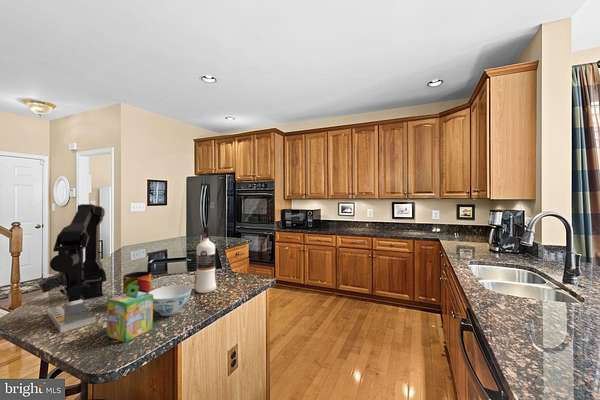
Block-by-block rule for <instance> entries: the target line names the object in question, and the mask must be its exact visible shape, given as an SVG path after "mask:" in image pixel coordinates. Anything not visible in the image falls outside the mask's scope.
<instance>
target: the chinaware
mask: <svg viewBox="0 0 600 400" xmlns="http://www.w3.org/2000/svg"><path fill="white" fill-rule="evenodd" d="M191 293H192V288H191V287H190V286H189V285H181V284H178V285H177V284H176V285H175V284H174V285H169V286H168V285H167V286H162V287H158V288H155V289H153V290H152V289H151V291H150V292H149V294H153V311H155V312H157V313H159V315H160V316H164V317H168V316H172V315H173V316H174V315H175V314H178V313H179V312H180V310H181V309H182V308H183V307H184V306H185V305H186V304H187V302H188V301H189V299H190V296H191Z"/></svg>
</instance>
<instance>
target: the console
mask: <svg viewBox="0 0 600 400" xmlns="http://www.w3.org/2000/svg"><path fill="white" fill-rule="evenodd" d="M65 305H66V304H63V305H59V306H54V307H50V308H47V315H48V316H49V318H50V319H51V321H52V323H53V324H54V326H55V327H56V329H58V331H59V333H64V332H67V331H70V330H74V329H77V328H81V327H84V326H87V325H91V324H94V323H96V322H97V316H96V315H95V314H94V313H93V312H92V311H90V309H88V308H87V307H86V306H85V311H81V312H78V313H74V314H70V315H68V319H66V318H65V317H64V307H65Z"/></svg>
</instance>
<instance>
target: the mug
mask: <svg viewBox="0 0 600 400" xmlns="http://www.w3.org/2000/svg"><path fill="white" fill-rule="evenodd" d="M129 285H136V286H139V290H138V291H140V292H145V293H149V292H150V291H152V272H150V271H135V272H130V273H127V274H124V275H123V278H122V289H123V290H122V295H124V294H127V291H128V287H129ZM134 291H135V289H131V292H134Z"/></svg>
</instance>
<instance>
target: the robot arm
mask: <svg viewBox="0 0 600 400" xmlns="http://www.w3.org/2000/svg"><path fill="white" fill-rule="evenodd" d="M105 215H106V212H105V208H104V207H102V206H99V205H94V204H92V203H89V204H88V203H87V204H86V203H85V204H84V203H81V204H78V206H77V211H76V213H75V215H74V217H73V219H72V221H71V223H70V224H68V225H66V226H65V227H63V228H62V230H61V231H60V232H59V233H58V234H57V236H56V239H55V244H54V247H53V250H52V251H53V252H57V255H55V256H54V257H52V258H51V260H50V262H49V267H50V269H52V271H54V272H58V273H56V274H54V275H52V276H49V277H47V278H44V279H42V280H40V281H38V282H37V284H38V286H39V288H40V290H41V292H42V293H44V294H45V293H47V292H50V291H52V290H53V289H56V288H60V286H61V287H62V288H61V289H59V290H58V291H59V292H60V293H61V295H63V296H65V298H66V300H67V303H68V302H72V301H77V300H81V298H82V299H84V300H90V299H94V298H98V297H102V296H104V293H103V283H104V282H106V281H107V273H106V271H105V269H104V267H103V263H102V261H100V259H99V226H100V224H101V223H103V221H104V217H105Z"/></svg>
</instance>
